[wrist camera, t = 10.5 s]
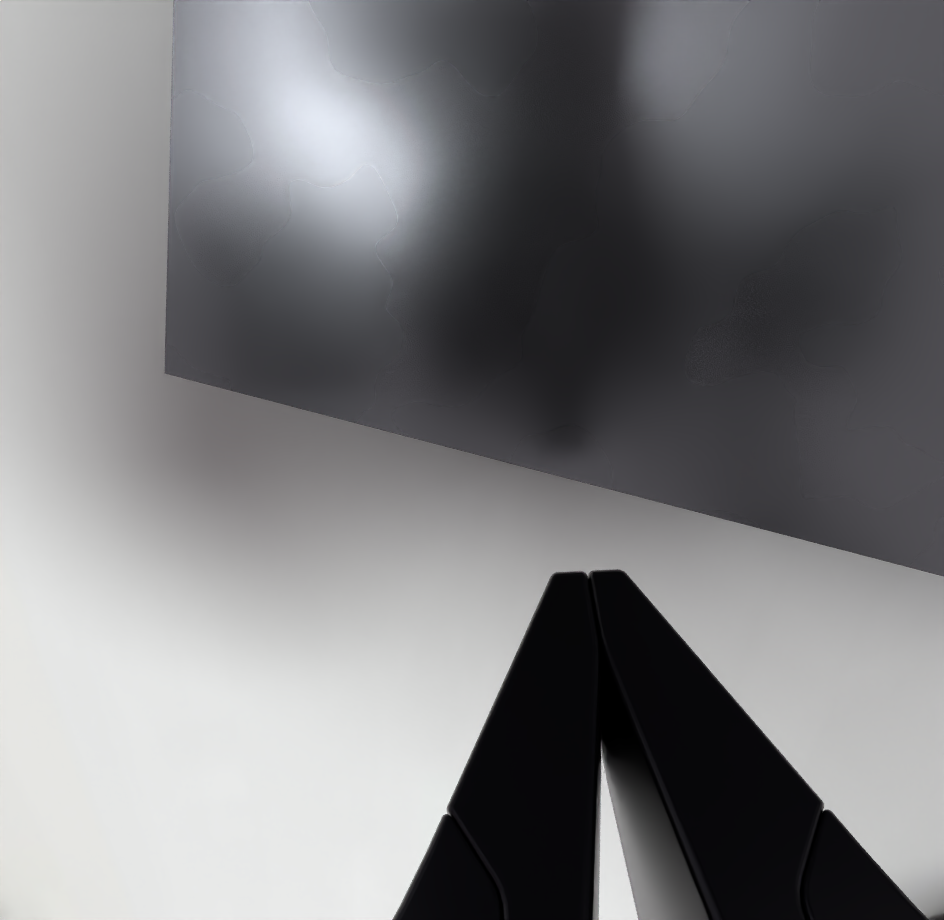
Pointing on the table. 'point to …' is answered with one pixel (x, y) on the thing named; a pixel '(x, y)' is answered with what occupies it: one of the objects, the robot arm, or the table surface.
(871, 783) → the table surface
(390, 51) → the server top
